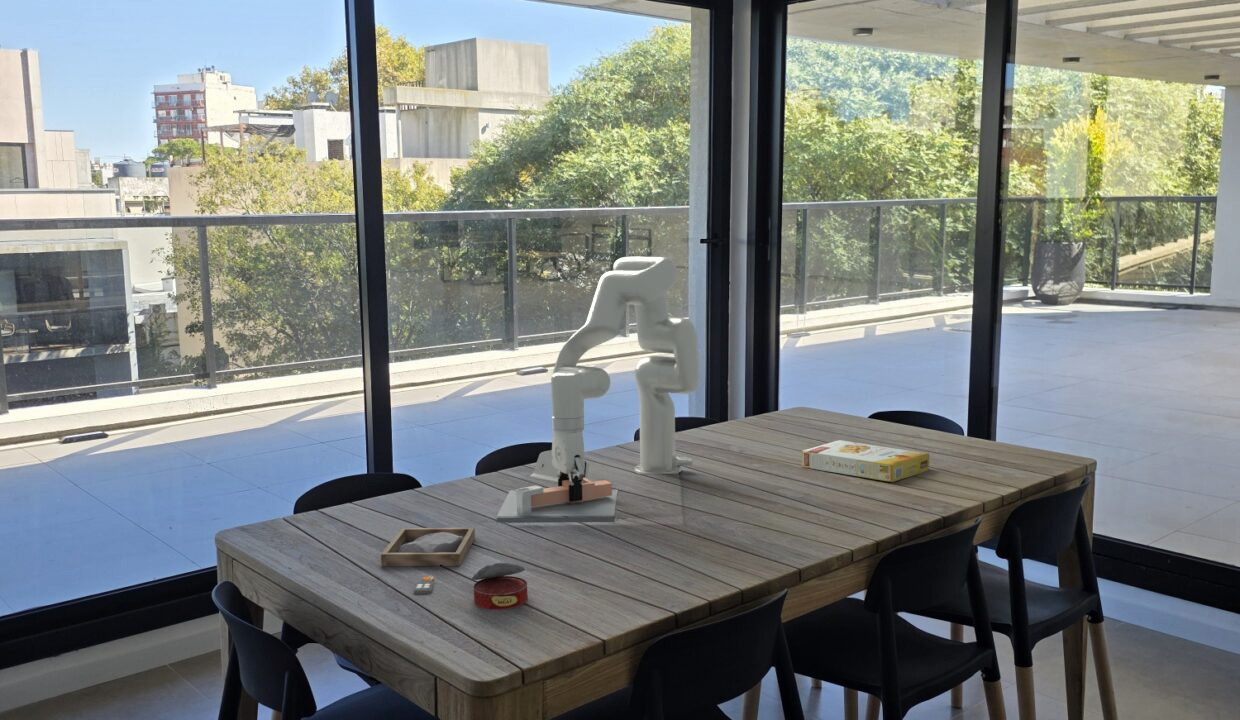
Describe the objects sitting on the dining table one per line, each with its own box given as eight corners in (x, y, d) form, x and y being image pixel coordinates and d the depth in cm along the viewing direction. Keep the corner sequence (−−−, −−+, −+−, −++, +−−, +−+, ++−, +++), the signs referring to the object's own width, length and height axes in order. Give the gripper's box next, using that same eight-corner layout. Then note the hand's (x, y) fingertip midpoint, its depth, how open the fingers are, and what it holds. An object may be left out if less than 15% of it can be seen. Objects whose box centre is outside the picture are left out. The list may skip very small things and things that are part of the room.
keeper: (537, 515, 252) (536, 485, 251) (544, 517, 250) (543, 487, 249) (516, 519, 249) (515, 489, 248) (523, 522, 247) (522, 491, 246)
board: (617, 495, 268) (617, 489, 268) (614, 521, 246) (614, 515, 245) (510, 496, 269) (510, 490, 269) (496, 522, 247) (496, 516, 246)
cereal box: (893, 463, 274) (800, 448, 293) (892, 485, 275) (799, 468, 294) (930, 451, 289) (839, 437, 308) (930, 471, 290) (839, 456, 309)
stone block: (396, 568, 222) (433, 565, 217) (392, 545, 222) (429, 542, 217) (432, 553, 233) (469, 551, 228) (428, 532, 233) (465, 528, 228)
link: (603, 490, 264) (603, 475, 263) (614, 496, 258) (613, 480, 258) (521, 502, 255) (520, 486, 254) (530, 508, 249) (529, 491, 249)
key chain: (432, 596, 202) (432, 588, 201) (412, 596, 202) (412, 589, 201) (440, 573, 215) (440, 565, 214) (421, 573, 214) (421, 566, 214)
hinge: (527, 482, 283) (535, 445, 284) (539, 484, 287) (547, 447, 288) (573, 492, 272) (582, 453, 273) (585, 494, 276) (593, 456, 277)
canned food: (477, 631, 195) (450, 583, 195) (502, 606, 205) (476, 561, 204) (524, 611, 191) (496, 562, 190) (548, 586, 200) (521, 540, 199)
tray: (474, 538, 235) (474, 527, 235) (460, 565, 217) (459, 553, 217) (402, 539, 235) (401, 528, 235) (381, 566, 218) (380, 554, 217)
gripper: (540, 418, 260) (542, 491, 263) (567, 431, 245) (569, 508, 247) (569, 415, 263) (570, 487, 266) (597, 428, 248) (599, 504, 251)
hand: (570, 496), depth 257 cm, fingers closed on link, 6 cm apart
